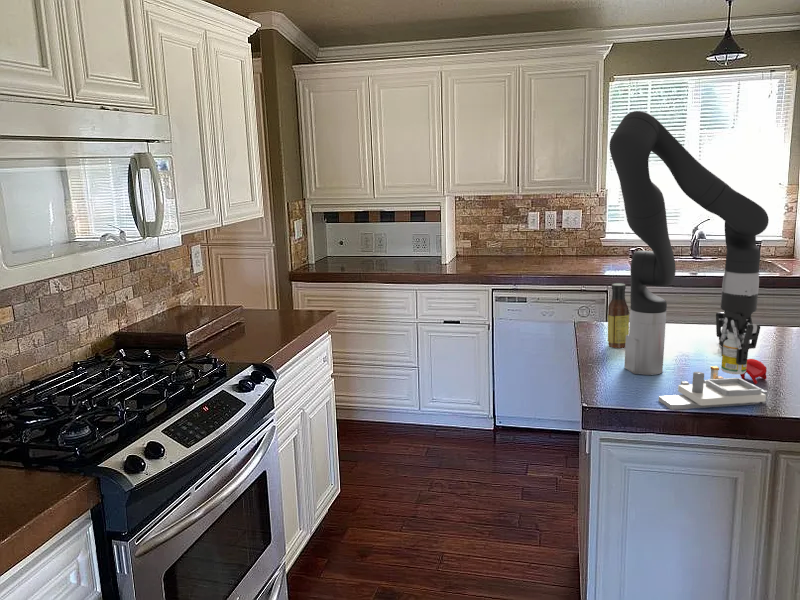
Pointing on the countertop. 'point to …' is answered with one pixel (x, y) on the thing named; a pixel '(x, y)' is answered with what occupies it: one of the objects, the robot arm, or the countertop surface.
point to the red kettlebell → (755, 370)
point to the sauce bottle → (618, 317)
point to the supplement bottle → (731, 356)
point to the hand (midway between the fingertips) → (733, 360)
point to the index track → (686, 403)
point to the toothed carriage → (720, 390)
